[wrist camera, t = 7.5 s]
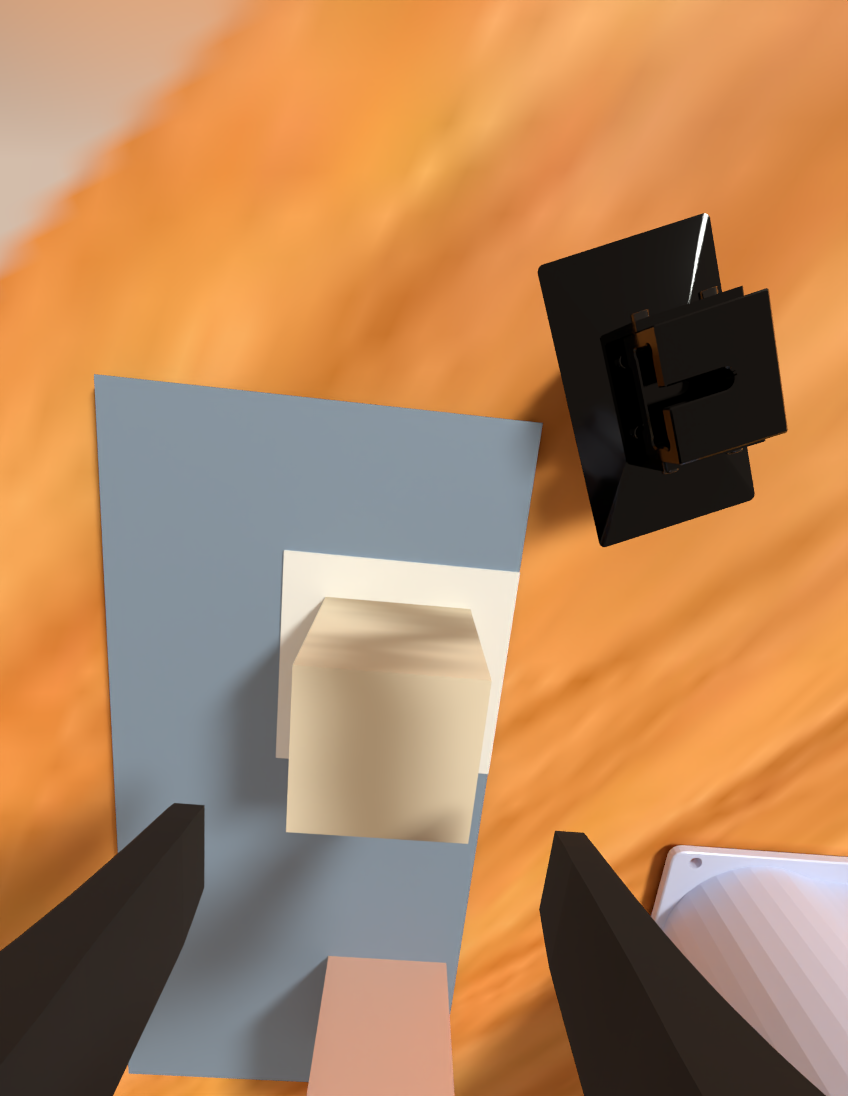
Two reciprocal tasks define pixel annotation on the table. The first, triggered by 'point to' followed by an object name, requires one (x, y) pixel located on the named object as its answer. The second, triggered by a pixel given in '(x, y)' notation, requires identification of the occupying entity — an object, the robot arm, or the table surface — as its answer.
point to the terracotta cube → (383, 1030)
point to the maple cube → (387, 722)
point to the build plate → (662, 377)
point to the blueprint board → (284, 677)
